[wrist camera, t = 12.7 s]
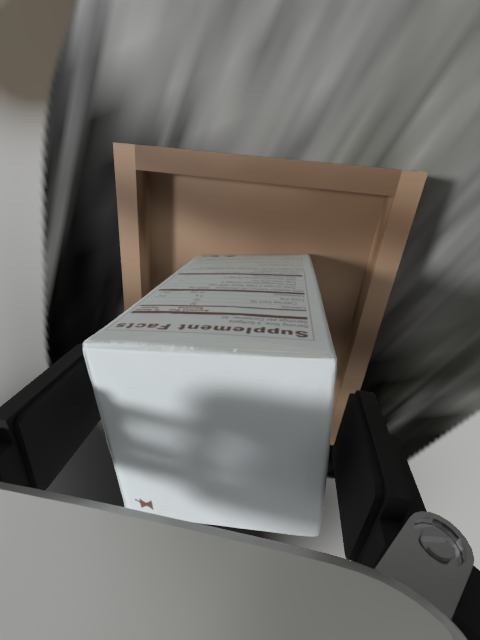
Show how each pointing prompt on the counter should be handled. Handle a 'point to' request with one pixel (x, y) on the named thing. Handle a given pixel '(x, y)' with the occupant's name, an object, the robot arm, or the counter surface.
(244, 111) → the counter surface
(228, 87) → the counter surface
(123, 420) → the supplement box
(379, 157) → the counter surface
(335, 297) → the walnut tray
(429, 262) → the counter surface
